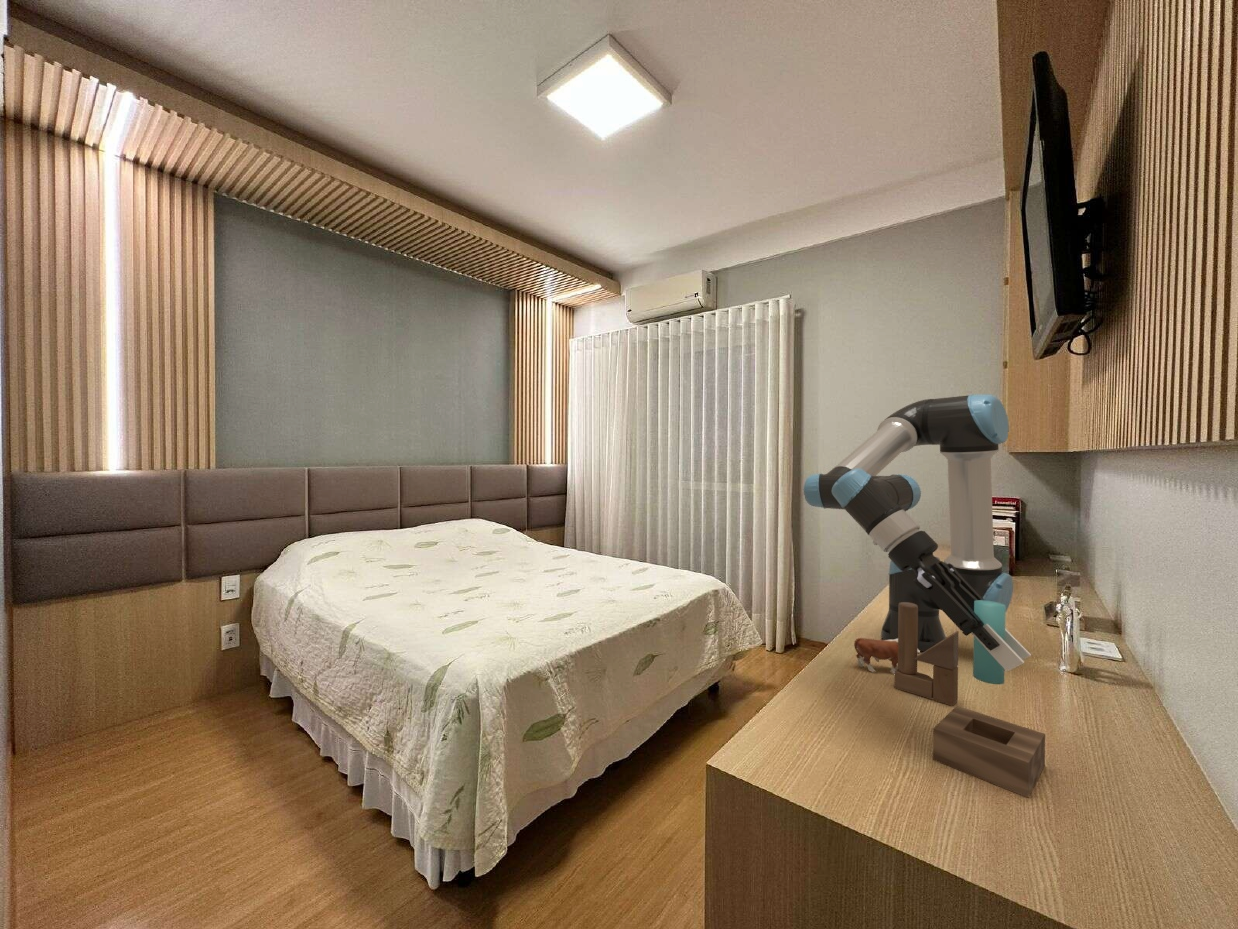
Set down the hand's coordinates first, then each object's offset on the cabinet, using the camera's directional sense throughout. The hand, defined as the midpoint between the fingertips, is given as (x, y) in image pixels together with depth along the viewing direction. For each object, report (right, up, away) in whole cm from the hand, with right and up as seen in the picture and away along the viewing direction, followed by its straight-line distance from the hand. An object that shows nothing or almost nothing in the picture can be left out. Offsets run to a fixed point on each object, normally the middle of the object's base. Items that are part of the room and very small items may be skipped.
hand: (1019, 662), depth 77 cm
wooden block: (+2, -17, +27) cm, 32 cm away
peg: (-3, -4, +3) cm, 5 cm away
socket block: (-3, -17, +3) cm, 17 cm away
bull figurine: (0, -17, +38) cm, 42 cm away
